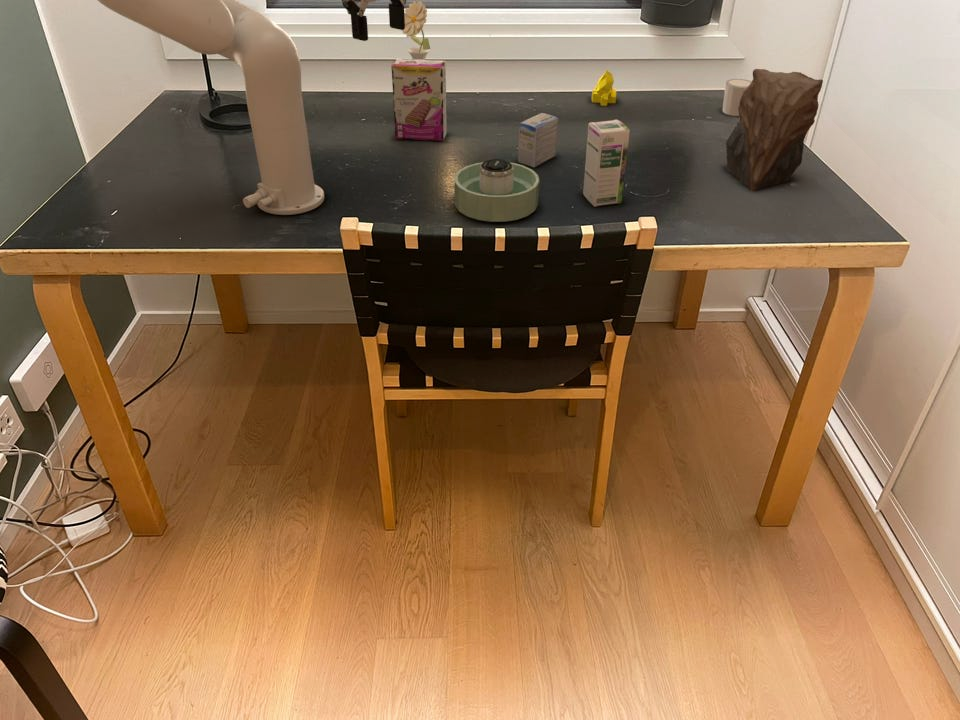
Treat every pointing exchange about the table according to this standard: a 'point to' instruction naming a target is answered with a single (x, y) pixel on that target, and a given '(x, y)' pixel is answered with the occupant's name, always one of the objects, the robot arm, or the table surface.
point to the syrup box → (605, 162)
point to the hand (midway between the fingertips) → (379, 33)
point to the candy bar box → (419, 99)
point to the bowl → (496, 205)
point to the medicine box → (537, 139)
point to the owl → (772, 127)
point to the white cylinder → (734, 95)
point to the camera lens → (496, 177)
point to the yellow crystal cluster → (604, 90)
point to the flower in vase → (416, 29)
